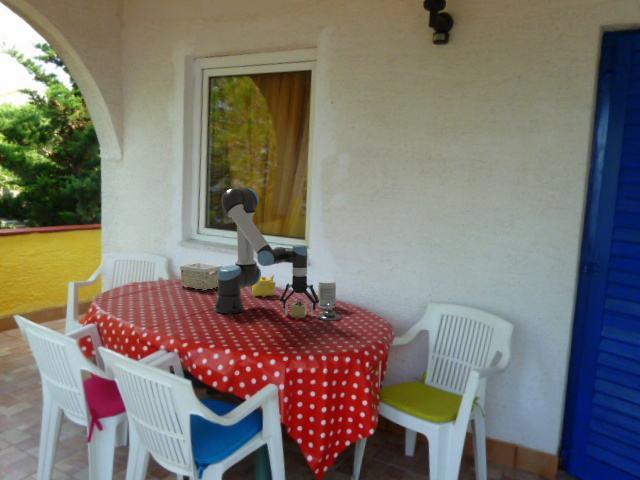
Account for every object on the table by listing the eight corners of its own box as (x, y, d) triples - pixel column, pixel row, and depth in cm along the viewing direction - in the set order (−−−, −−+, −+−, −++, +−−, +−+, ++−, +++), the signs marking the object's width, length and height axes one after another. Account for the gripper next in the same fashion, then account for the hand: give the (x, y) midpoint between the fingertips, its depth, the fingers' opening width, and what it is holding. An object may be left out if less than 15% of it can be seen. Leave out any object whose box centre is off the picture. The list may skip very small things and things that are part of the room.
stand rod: (296, 316, 254) (296, 301, 253) (297, 314, 256) (297, 300, 255) (300, 316, 253) (301, 302, 252) (301, 315, 256) (301, 301, 255)
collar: (290, 317, 252) (291, 305, 251) (293, 313, 259) (293, 302, 258) (304, 317, 251) (304, 306, 250) (306, 314, 258) (306, 303, 257)
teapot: (277, 298, 291) (278, 278, 290) (253, 299, 288) (253, 279, 286) (274, 292, 305) (274, 274, 303) (251, 293, 301) (251, 274, 300)
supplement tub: (338, 308, 271) (339, 282, 270) (324, 310, 266) (325, 283, 264) (328, 304, 279) (329, 279, 278) (314, 306, 274) (315, 280, 272)
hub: (316, 319, 247) (316, 306, 247) (319, 313, 259) (319, 300, 258) (339, 321, 246) (340, 307, 245) (342, 315, 258) (342, 302, 257)
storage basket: (178, 286, 316) (178, 264, 314) (198, 282, 329) (198, 261, 327) (204, 292, 303) (204, 268, 301) (223, 287, 316) (223, 265, 314)
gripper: (274, 275, 250) (274, 316, 253) (322, 277, 247) (322, 318, 249) (277, 272, 257) (277, 312, 260) (324, 274, 254) (324, 314, 257)
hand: (299, 315), depth 255 cm, fingers open, 13 cm apart
